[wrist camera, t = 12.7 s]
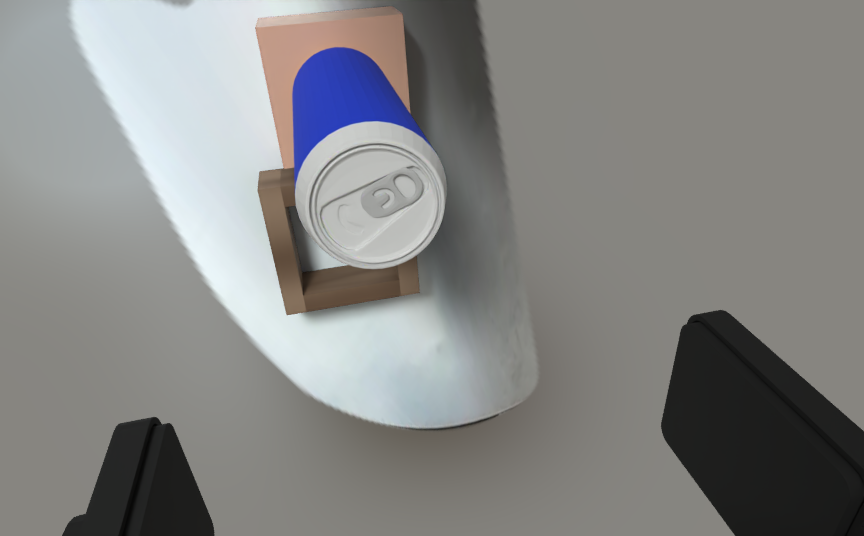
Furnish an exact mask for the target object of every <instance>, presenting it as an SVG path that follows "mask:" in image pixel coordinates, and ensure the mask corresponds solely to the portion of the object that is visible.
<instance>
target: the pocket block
mask: <svg viewBox="0 0 864 536" xmlns="http://www.w3.org/2000/svg"><path fill="white" fill-rule="evenodd" d="M258 194H259V198H260V203H261V207H262V211H263V216H264V220H265V224H266V228H267V233H268V237H269V241H270V246H271V250H272V254H273V258H274V263H275V267H276V271H277V276H278V280H279V284H280V288H281V293H282V297H283V301H284V306H285V310H286V314H287V315H291V314H297V313H303V312H309V311H315V310H321V309H327V308H333V307H339V306H345V305H350V304H356V303H362V302H368V301H374V300H380V299H386V298H392V297H398V296H404V295H410V294H416V293H420V292H419V279H418V267H417V255H416V256H415V257H413V258H412V259H410V260H408V261H406V262H404V263H401V264H399V265H396V266H393V267H388V268H383V269H363V268H358V267H353V266H350V265H347V266H341V267H334V268H328V269H322V270H316V271H309V272H303V273H302V270H301V265H300V260H299V255H298V250H297V245H296V241H295V236H294V231H293V226H292V221H291V216H290V212H289V206H296V201H295V179H294V168H287V169H284V168H283V169H276V170H268V171H260V172H259V181H258Z"/></svg>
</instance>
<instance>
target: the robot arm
mask: <svg viewBox="0 0 864 536" xmlns="http://www.w3.org/2000/svg"><path fill="white" fill-rule="evenodd" d="M661 428H662V433H663V436H664V438H665V440H666V442H667V443H668V445H669V446H670V447H671V449H672V450H673V452H674V453H675V454H676V456H677V457H678V458H679V460H680V461H681V463H682V464H683V465H684V467H685V468H686V469H687V471H688V472H689V473H690V475H691V476H692V477H693V478H694V480H695V482H696V483H697V484H698V486H699V487H700V488H701V490H702V491H703V493H704V494H705V495H706V497H707V498H708V499H709V501H710V502H711V503H712V505H713V506H714V507H715V509H716V510H717V512H718V513H719V514H720V516H721V517H722V518H723V520H724V521H725V522H726V524H727V525H728V526H729V528H730V529H731V531H732V532H733V533H734V535H735V536H864V431H863V430H862V429H860V428H859V427H858V426H857V425H856V424H855V423H854V422H852V421H851V420H850V419H849V418H848V417H847V416H846V415H844V414H843V413H842V412H841V411H840V410H839V409H838V408H836V407H835V406H834V405H833V404H832V403H831V402H830V401H828V400H827V399H826V398H825V397H824V396H823V395H822V394H820V393H819V392H818V391H817V390H816V389H815V388H814V387H812V386H811V385H810V384H809V383H808V382H807V381H806V380H805V379H803V378H802V377H801V376H800V375H799V374H798V373H797V372H795V371H794V370H793V369H792V368H791V367H790V366H789V365H787V364H786V363H785V362H784V361H783V360H782V359H780V358H779V357H778V356H777V355H776V354H775V353H774V352H772V351H771V350H770V349H769V348H768V347H767V346H766V345H765V344H763V343H762V342H761V341H760V340H759V339H758V338H757V337H755V336H754V335H753V334H752V333H751V332H750V331H748V329H746V328H745V327H744V326H743V325H742V324H741V323H739V322H738V321H737V320H736V319H735V318H734V317H733V316H731V315H730V314H729V313H727V312H726V311H723V310H718V311H713V312H708V313H702V314H697V315H693V316H691V317H690V318H689V320H688V322H687V324H686V325H684V326H683V327H682V329H681V332H680V337H679V342H678V347H677V352H676V356H675V361H674V365H673V370H672V375H671V380H670V385H669V389H668V394H667V399H666V404H665V409H664V413H663V418H662V422H661ZM62 536H214V527H213V523H212V520H211V517H210V515H209V513H208V510H207V508H206V505H205V503H204V501H203V498H202V496H201V493H200V491H199V489H198V486H197V483H196V481H195V479H194V476H193V474H192V471H191V469H190V467H189V464H188V462H187V459H186V457H185V454H184V452H183V450H182V447H181V445H180V442H179V440H178V437H177V435H176V433H175V430H174V428H173V426H172V425H171V424H170V423H167V424H163V425H162V424H161V422H160V421H159V419H158V418H156V417H152V418H147V419H141V420H136V421H131V422H126V423H120V424H118V425H117V426H116V428H115V430H114V432H113V435H112V438H111V441H110V444H109V447H108V450H107V453H106V456H105V459H104V462H103V465H102V468H101V471H100V474H99V476H98V479H97V482H96V485H95V488H94V491H93V494H92V497H91V500H90V503H89V506H88V509H87V512H86V514H84V515H79V516H76V517H74V518H73V519H72V520H71V521H70V522H69V523H68V525H67V527H66V529H65V531H64V533H63V535H62Z"/></svg>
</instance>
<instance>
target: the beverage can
mask: <svg viewBox="0 0 864 536" xmlns="http://www.w3.org/2000/svg"><path fill="white" fill-rule="evenodd" d="M292 105H293V142H294V179H295V201H296V208H297V212H298V215H299V218H300V220H301V223H302V225H303V227H304V228H305V230H306V231H307V233H308V234H309V236H310V237H311V238H312V239H313V240H314V241H315V242H316V243H317V244H318V245H319V246H320V247H321V248H322V249H323V250H324V251H325V252H326V253H328V254H329V255H330V256H332V257H333V258H335V259H337V260H339V261H340V262H342V263H345V264H348V265H350V266H353V267H358V268H363V269H383V268H388V267H393V266H396V265H399V264H401V263H404V262H406V261H408V260H410V259H412V258H413V257H415V256H416V255H417V254H419V253H420V252H421V251H422V250H423V249H424V248H425V247H427V246H428V244H429V243H430V242H431V241H432V239H433V238H434V236H435V235H436V233H437V231H438V229H439V227H440V224H441V222H442V219H443V215H444V210H445V203H446V198H447V183H446V175H445V172H444V169H443V165H442V163H441V161H440V159H439V157H438V155H437V154H436V152H435V151H434V149H433V148H432V146H431V145H430V143H429V142H428V140H427V139H426V137H425V135H424V134H423V132H422V131H421V129H420V128H419V126H418V125H417V123H416V122H415V120H414V119H413V117H412V116H411V114H410V113H409V111H408V110H407V108H406V107H405V105H404V103H403V102H402V100H401V99H400V97H399V96H398V94H397V93H396V91H395V90H394V88H393V87H392V85H391V84H390V82H389V81H388V79H387V78H386V76H385V74H384V73H383V71H382V70H381V69H380V67H379V66H378V65H377V64H376V63H375V62H374V61H373V60H372V59H371V58H370V57H368V56H367V55H366V54H364V53H362V52H360V51H358V50H355V49H352V48H346V47H334V48H328V49H325V50H322V51H320V52H318V53H316V54H314V55H313V56H311V57H310V58H309V59H308V60H307V61H306V62H305V63H304V64H303V65H302V66H301V68H300V69H299V71H298V73H297V75H296V77H295V80H294V84H293V91H292Z"/></svg>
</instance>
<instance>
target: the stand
mask: <svg viewBox="0 0 864 536" xmlns="http://www.w3.org/2000/svg"><path fill="white" fill-rule="evenodd" d="M255 29H256V34H257V39H258V44H259V49H260V54H261V58H262V63H263V68H264V73H265V78H266V83H267V88H268V93H269V98H270V103H271V108H272V113H273V118H274V122H275V127H276V132H277V137H278V142H279V147H280V152H281V157H282V162H283V167H284V169H287V168H294V142H293V105H292V91H293V84H294V80H295V77H296V75H297V73H298V71H299V69H300V68H301V66H302V65H303V64H304V63H305V62H306V61H307V60H308V59H309V58H310V57H311V56H313V55H314V54H316V53H318V52H320V51H322V50H325V49H328V48H334V47H346V48H352V49H355V50H358V51H360V52H362V53H364V54H366V55H367V56H368V57H370V58H371V59H372V60H373V61H374V62H375V63H376V64H377V65H378V66H379V67H380V69H381V70H382V71H383V73H384V74H385V76H386V78H387V79H388V81H389V82H390V84H391V85H392V87H393V88H394V90H395V91H396V93H397V94H398V96H399V97H400V99H401V100H402V102H403V103H404V105H405V107H406V108H407V110H408V111H409V113H410V101H409V89H408V76H407V63H406V50H405V37H404V24H403V14H402V13H401V12H400V11H398V10H397V9H396V8H394V7H393V6H387V7H376V8H365V9H354V10H343V11H332V12H321V13H310V14H299V15H288V16H277V17H266V18H258V20H257V24H256V27H255Z"/></svg>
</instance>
